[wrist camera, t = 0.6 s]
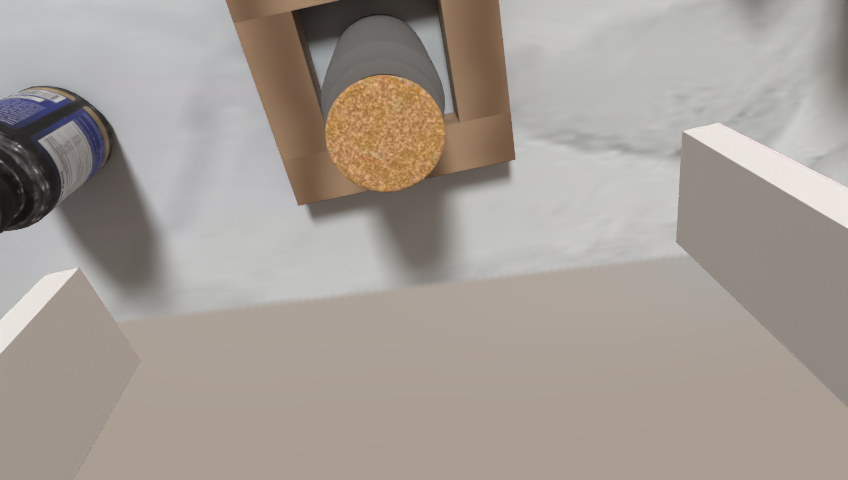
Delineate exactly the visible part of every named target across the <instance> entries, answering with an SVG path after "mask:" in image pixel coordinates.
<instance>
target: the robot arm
mask: <svg viewBox="0 0 848 480" xmlns="http://www.w3.org/2000/svg"><path fill="white" fill-rule="evenodd" d="M676 242H677V243H678V244H679V245H680V246H681V247H682V248H683V249H684V250H685V251H686V252H687V253H688V254H689V255H690V256H691V257H692V258H693V259H694V260H696V261H697V262H698V263H699V264H700V265H701V266H702V267H703V268H704V269H705V270H706V271H707V272H708V273H709V274H710V275H711V276H712V277H713V278H714V279H715V280H716V281H717V282H718V283H720V285H721V286H722V287H723V288H724V289H726V290H727V291H728V292H729V293H730V294H731V295H732V296H733V297H734V298H735V299H736V300H737V301H738V302H739V303H740V304H741V305H742V306H743V307H744V308H745V309H746V310H747V311H748V312H749V313H750V314H751V315H752V316H753V317H755V318H756V319H757V320H758V321H759V322H760V323H761V324H762V325H763V326H764V327H765V328H766V329H767V330H768V331H769V332H770V333H771V334H772V335H773V336H774V337H775V338H776V339H777V340H779V342H781V344H783V345H784V346H785V347H786V348H787V349H788V350H789V351H790V352H791V353H792V354H793V355H794V356H795V357H796V358H797V359H798V360H799V361H800V362H801V363H802V364H803V365H804V366H805V367H806V368H807V369H808V370H810V371H811V372H812V373H813V374H814V375H815V376H816V377H817V378H818V379H819V380H820V381H821V382H822V383H823V384H824V385H825V386H826V387H827V388H828V389H829V390H830V391H831V392H832V393H833V394H834V395H835V396H836V397H837V398H839V400H840V401H842V402H843V403H844V404H845V405H846V406H847V407H848V188H847V187H845V186H843V185H841V184H839V183H837V182H835V181H833V180H831V179H829V178H827V177H825V176H823V175H821V174H819V173H817V172H815V171H813V170H811V169H809V168H807V167H805V166H803V165H801V164H799V163H797V162H795V161H793V160H791V159H789V158H787V157H785V156H783V155H781V154H779V153H777V152H776V151H774V150H772V149H770V148H768V147H766V146H764V145H762V144H760V143H758V142H756V141H754V140H752V139H750V138H748V137H746V136H744V135H742V134H740V133H738V132H736V131H734V130H732V129H730V128H728V127H726V126H724V125H722V124H720V123H716V124H712V125H707V126H703V127H698V128H694V129H689V130H685V131H682V148H681V166H680V184H679V202H678V219H677V237H676ZM139 362H140V358H139V357H138V355H137V354H136V352H135V351H134V349H133V348H132V346H131V345H130V343H129V342H128V340H127V339H126V337H125V336H124V334H123V333H122V331H121V330H120V328H119V327H118V325H117V323H116V322H115V320H114V319H113V317H112V316H111V314H110V313H109V311H108V310H107V308H106V307H105V305H104V304H103V302H102V301H101V299H100V298H99V296H98V295H97V293H96V292H95V290H94V289H93V287H92V286H91V284H90V283H89V281H88V280H87V278H86V277H85V275H84V274H83V272H82V271H81V269H80V268H74V269H70V270H66V271H61V272H57V273H52V274H48V275H45V276H44V277H43V278H42V279H41V280H40V281H39V282H38V283H37V284H36V285H35V286H34V287H33V288H32V289H31V290H30V291H29V292H28V293H27V294H26V295H25V296H24V297H23V298H22V299H21V300H20V301H19V302H18V303H17V304H16V305H15V306H14V307H13V308H12V309H11V310H10V311H9V312H8V313H7V314H6V315H5V316H4V317H3V318H2V319H1V320H0V480H74V478H75V477H76V475H77V473H78V471H79V470H80V468H81V466H82V464H83V463H84V461H85V459H86V457H87V455H88V453H89V452H90V450H91V448H92V446H93V444H94V443H95V441H96V439H97V437H98V436H99V434H100V432H101V430H102V429H103V427H104V425H105V423H106V421H107V420H108V418H109V416H110V414H111V412H112V411H113V409H114V407H115V405H116V403H117V402H118V400H119V398H120V396H121V395H122V393H123V391H124V389H125V387H126V386H127V384H128V382H129V380H130V379H131V377H132V375H133V373H134V371H135V370H136V368H137V366H138V364H139Z"/></svg>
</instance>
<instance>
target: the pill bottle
mask: <svg viewBox="0 0 848 480" xmlns="http://www.w3.org/2000/svg"><path fill="white" fill-rule="evenodd" d="M111 151H112V136H111V132H110V129H109V127H108V124H107V122H106V120H105V119H104V118H103V116H102V115H101V114H100V113H99V111H98V110H97V109H96V108H95V107H93V106H92V105H91V104H90V103H89V102H88V101H86V100H84V99H83V98H82V97H80V96H79V95H77V94H75V93H72V92H71V91H68V90H65V89H62V88H58V87H53V86H35V87H30V88H27V89H24V90H22V91H20V92H18V93H16V94H13V95H11V96H9V97H6V98H4V99H1V100H0V233H2V232H3V231H10V230H18V229H22V228H26V227H29V226H30V225H33V224H34V223H36V222H39V220H41V219H42V218H43V217H44V216H46V215H47V214H48V213H49V212H50V211H52V210H53V209H54V208H55V207H56V206H57V205H59V204H60V203H61V202H62V201H63V200H64V199H66V198H67V197H68V196H69V195H70V194H72V193H73V192H74V191H75V190H76V189H78V188H79V187H80V186H81V185H82V184H84V183H85V182H86V181H87V180H88V179H89V178H91V177H92V176H93V175H94V174H95V173H97V172H98V171H99V170H100V169H101V168H102V167H103V166H104V165H105V164H106V163H107V161H108V159H109V157H110V155H111Z"/></svg>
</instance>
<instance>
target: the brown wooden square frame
mask: <svg viewBox="0 0 848 480" xmlns="http://www.w3.org/2000/svg"><path fill="white" fill-rule="evenodd" d="M333 1H338V0H226V3H227V5H228V8H229V11H230V14H231V17H232V20H233V22H234V25H235V28H236V31H237V34H238V36H239V39H240V42H241V45H242V48H243V51H244V53H245V56H246V59H247V62H248V65H249V68H250V70H251V73H252V76H253V79H254V82H255V84H256V87H257V90H258V93H259V96H260V99H261V101H262V104H263V107H264V110H265V113H266V116H267V118H268V121H269V124H270V127H271V130H272V132H273V135H274V138H275V141H276V144H277V147H278V149H279V152H280V155H281V158H282V161H283V164H284V166H285V169H286V172H287V175H288V178H289V180H290V183H291V186H292V189H293V192H294V195H295V197H296V200H297V203H298V206H299V205H304V204H309V203H313V202H318V201H323V200H327V199H332V198H337V197H341V196H346V195H351V194H356V193H360V192H365V191H370V190H369V189H365V188H362V187H360V186H358V185H356V184H354V183H353V182H351V181H350V180H349V179H347V178H346V177H345V176H344V175H343V174H342V173H341V172H340V171H339V170H338V169H337V167H336V166H335V165H334V163H333V161H332V159H331V157H330V155H329V152H328V149H327V146H326V139H325V128H324V119H323V115H322V111H321V89H320V86H319V83H318V79H317V76H316V72H315V69H314V65H313V62H312V59H311V55H310V52H309V48H308V45H307V41H306V38H305V35H304V31H303V28H302V24H301V21H300V17H299V14H298V11H297V9H302V8H306V7H311V6H315V5H320V4H324V3H329V2H333ZM437 6H438V13H439V19H440V25H441V31H442V37H443V43H444V49H445V56H446V62H447V68H448V74H449V80H450V86H451V93H452V99H453V105H454V111H455V112H454V113H449V114H445V115H444V124H445V132H446V134H445V144H444V149H443V152H442V155H441V157H440V159H439V161H438V163H437V165H436V166H435V167H434V169H433V170H432V171H431V172H430V173H429V174H428V175H427V176H426V177H425V178H424V179H426V178H431V177H435V176H440V175H445V174H449V173H454V172H459V171H464V170H468V169H473V168H478V167H482V166H487V165H492V164H496V163H501V162H506V161H510V160H515V151H514V141H513V132H512V122H511V113H510V104H509V94H508V85H507V75H506V66H505V56H504V47H503V38H502V28H501V19H500V9H499V0H437Z"/></svg>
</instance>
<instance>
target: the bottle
mask: <svg viewBox="0 0 848 480" xmlns="http://www.w3.org/2000/svg"><path fill="white" fill-rule="evenodd" d="M444 109H445V97H444V92H443V87H442V83H441V80H440V78H439V75H438V73H437V71H436V69H435V67H434V65H433V63H432V61H431V59H430V57H429V55H428V53H427V51H426V49H425V47H424V45H423V44H422V42H421V40H420V38H419V37H418V36H417V34H416V33H415V32H414V30H413V29H412V28H411V27H410V26H409V25H407V24H406V23H404V22H403V21H402V20H399V19H397V18H395V17H392V16H389V15H382V14H376V15H370V16H366V17H363V18H361V19H359V20H357V21H355V22H354V23H352V24H351V25H350V26H349V27H348V28H347V29H346V30H345V31H344V33H343V34H342V36H341V37H340V39H339V41H338V43H337V46H336V48H335V50H334V53H333V56H332V59H331V61H330V64H329V67H328V69H327V73H326V76H325V79H324V83H323V86H322V92H321V111H322V115H323V119H324V128H325V139H326V146H327V149H328V152H329V155H330V157H331V159H332V161H333V163H334V165H335V166H336V167H337V169H338V170H339V171H340V172H341V173H342V174H343V175H344V176H345V177H346V178H347V179H349V180H350V181H351V182H353V183H354V184H356V185H358V186H360V187H362V188H365V189H369V190H372V191H378V192H393V191H399V190H403V189H406V188H409V187H411V186H413V185H415V184H417V183H419V182H420V181H421V180H423V179H424V178H425V177H426V176H427V175H428V174H429V173H430V172H431V171H432V170H433V169H434V167H435V166H436V165H437V163H438V161H439V159H440V157H441V155H442V152H443V149H444V144H445V134H446V132H445V124H444Z"/></svg>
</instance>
